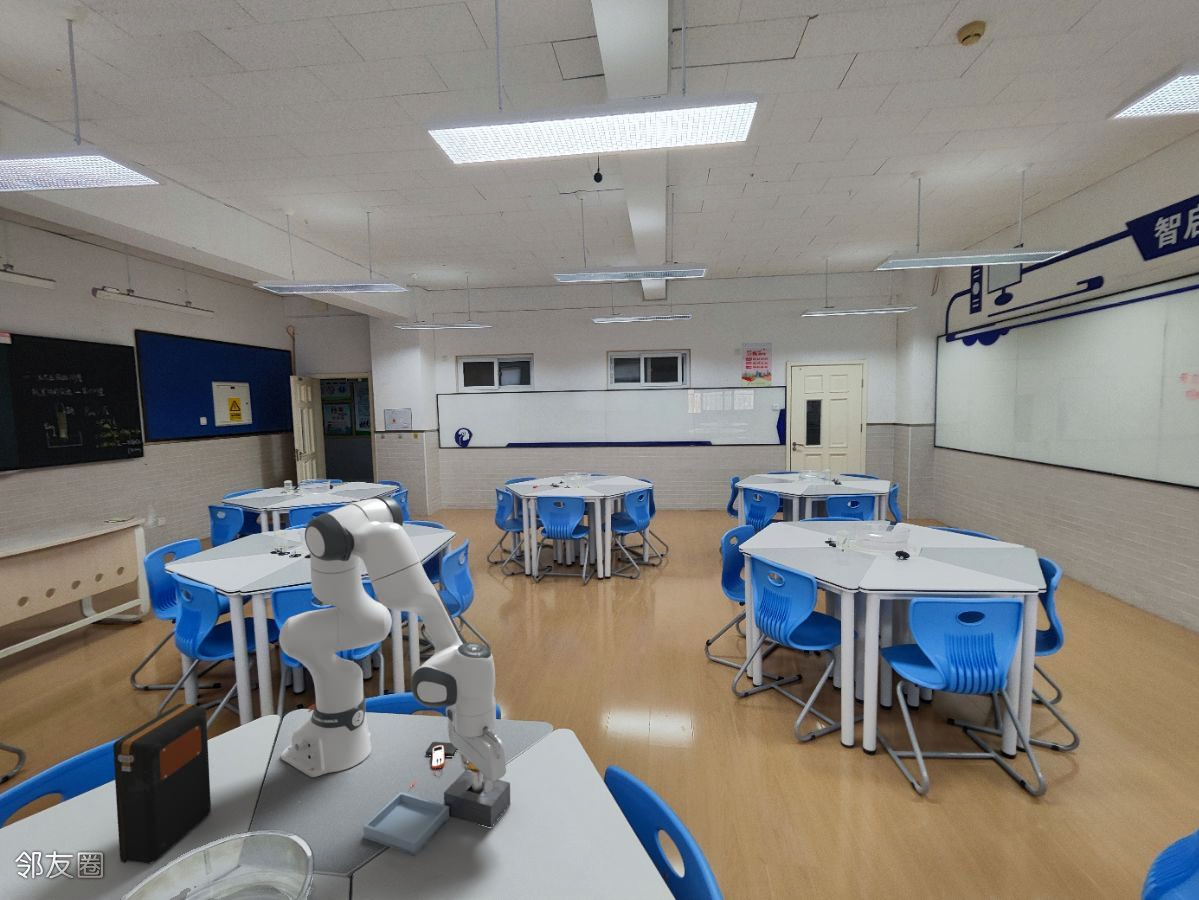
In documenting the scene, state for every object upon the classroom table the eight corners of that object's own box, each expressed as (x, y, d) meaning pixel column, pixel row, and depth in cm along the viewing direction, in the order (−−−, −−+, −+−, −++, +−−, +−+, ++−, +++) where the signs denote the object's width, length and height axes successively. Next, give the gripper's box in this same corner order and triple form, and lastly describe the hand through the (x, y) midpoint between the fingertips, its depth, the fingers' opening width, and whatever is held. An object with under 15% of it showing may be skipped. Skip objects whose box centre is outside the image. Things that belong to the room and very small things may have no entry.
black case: (183, 808, 123) (177, 700, 121) (217, 811, 122) (212, 703, 120) (113, 865, 107) (105, 742, 106) (152, 869, 106) (145, 745, 105)
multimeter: (445, 796, 127) (445, 782, 127) (398, 790, 129) (397, 776, 129) (476, 751, 145) (476, 738, 145) (433, 746, 147) (433, 733, 147)
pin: (465, 812, 121) (464, 764, 121) (475, 801, 125) (474, 754, 124) (480, 817, 120) (479, 768, 119) (489, 805, 124) (489, 757, 123)
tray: (363, 837, 114) (363, 826, 114) (401, 802, 125) (400, 791, 125) (414, 855, 110) (414, 843, 109) (449, 817, 120) (449, 806, 120)
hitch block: (444, 814, 121) (443, 792, 121) (465, 790, 128) (465, 770, 128) (491, 828, 117) (490, 806, 116) (510, 803, 124) (510, 782, 124)
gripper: (512, 733, 115) (513, 796, 116) (467, 696, 130) (468, 752, 131) (486, 745, 111) (487, 810, 112) (442, 705, 126) (443, 763, 127)
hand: (476, 779), depth 121 cm, fingers open, 8 cm apart
